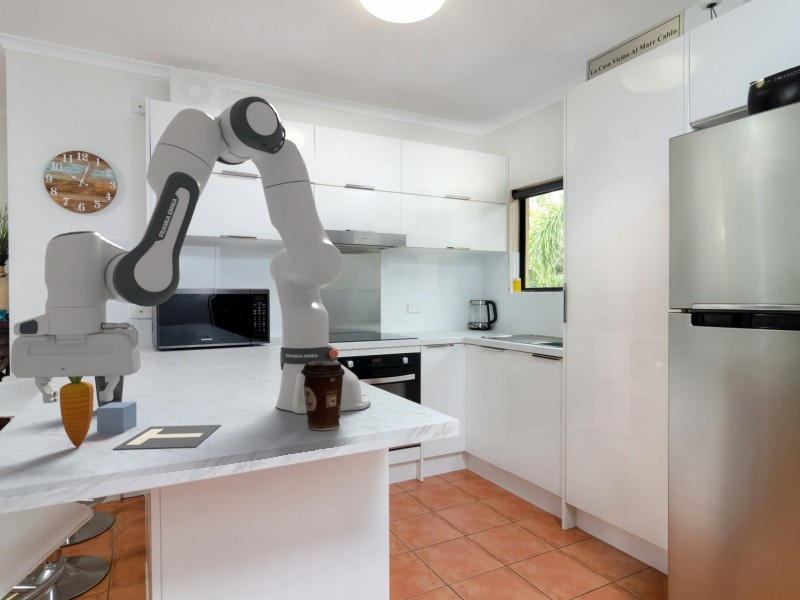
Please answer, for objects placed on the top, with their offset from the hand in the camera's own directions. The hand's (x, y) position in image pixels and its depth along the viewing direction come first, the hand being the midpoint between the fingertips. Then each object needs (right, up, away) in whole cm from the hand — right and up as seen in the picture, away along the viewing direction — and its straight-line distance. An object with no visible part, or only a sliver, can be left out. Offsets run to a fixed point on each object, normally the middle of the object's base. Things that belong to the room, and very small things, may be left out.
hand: (78, 401), depth 83 cm
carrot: (0, -8, 0) cm, 8 cm away
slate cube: (0, -8, +11) cm, 14 cm away
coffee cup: (+41, -8, +12) cm, 44 cm away
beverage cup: (-12, -8, +28) cm, 32 cm away
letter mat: (+14, -8, +6) cm, 17 cm away
